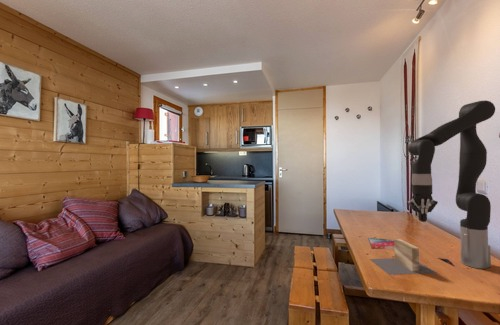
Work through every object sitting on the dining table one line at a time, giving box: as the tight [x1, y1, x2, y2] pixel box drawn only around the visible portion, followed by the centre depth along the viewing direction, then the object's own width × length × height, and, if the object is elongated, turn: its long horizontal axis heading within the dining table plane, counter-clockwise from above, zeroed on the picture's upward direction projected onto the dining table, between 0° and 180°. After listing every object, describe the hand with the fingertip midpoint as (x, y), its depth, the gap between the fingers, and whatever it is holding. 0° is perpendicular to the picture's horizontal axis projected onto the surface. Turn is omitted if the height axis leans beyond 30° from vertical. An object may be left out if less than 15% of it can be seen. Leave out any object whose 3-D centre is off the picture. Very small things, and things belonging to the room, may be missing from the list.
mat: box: [369, 257, 438, 276], centre depth 107 cm, size 21×16×1 cm
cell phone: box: [437, 258, 454, 267], centre depth 113 cm, size 8×15×1 cm, turn 66°
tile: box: [393, 238, 420, 272], centre depth 107 cm, size 3×12×10 cm, turn 1°
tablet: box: [368, 237, 395, 250], centre depth 134 cm, size 19×25×1 cm
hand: (422, 221), depth 107 cm, fingers closed
